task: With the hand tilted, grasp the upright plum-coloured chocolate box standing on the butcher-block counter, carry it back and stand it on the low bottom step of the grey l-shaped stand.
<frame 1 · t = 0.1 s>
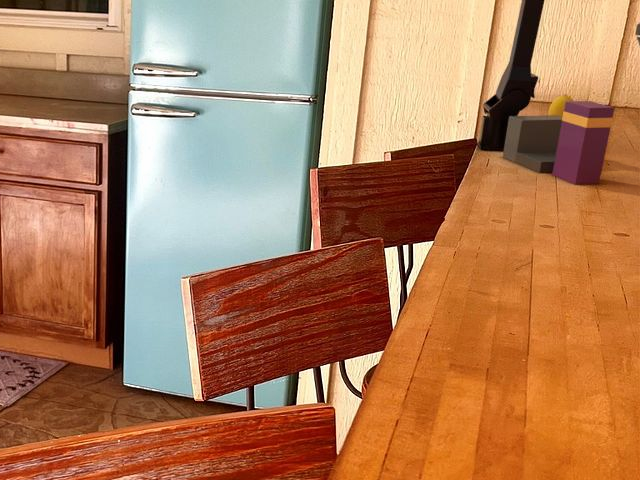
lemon: (558, 131, 204), on the breakfast bar
grey l-shaped stand: (544, 164, 170), on the breakfast bar
chocolate box: (575, 179, 158), on the breakfast bar
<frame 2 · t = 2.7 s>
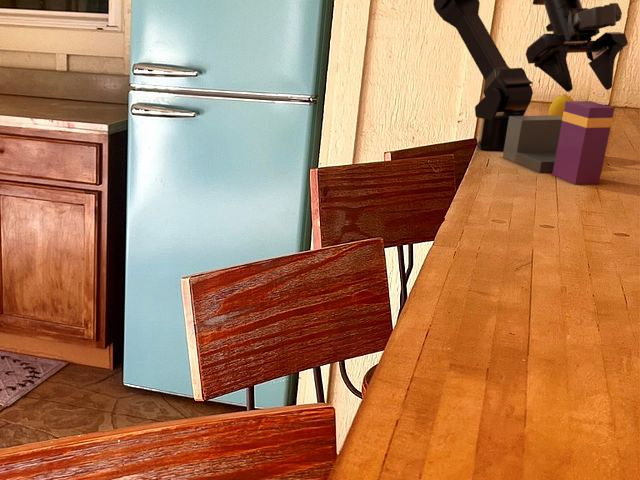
hand: (589, 89, 160), 14 cm above the breakfast bar, tool tilted 35°, fingers open, 9 cm apart
nothing on the breakfast bar moved.
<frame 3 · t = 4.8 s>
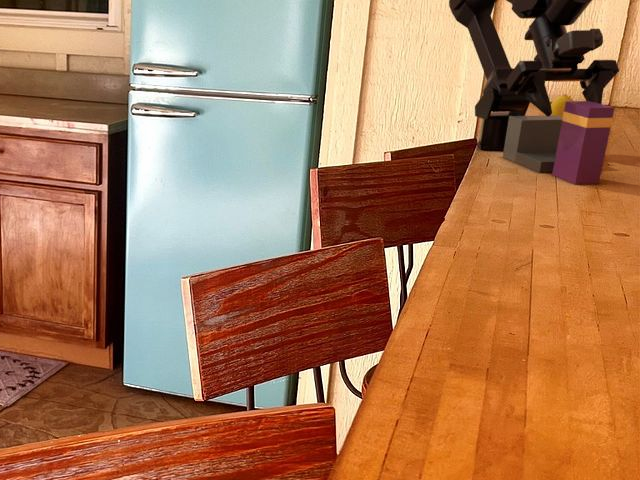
hand: (574, 114, 157), 11 cm above the breakfast bar, tool tilted 45°, fingers open, 9 cm apart
nothing on the breakfast bar moved.
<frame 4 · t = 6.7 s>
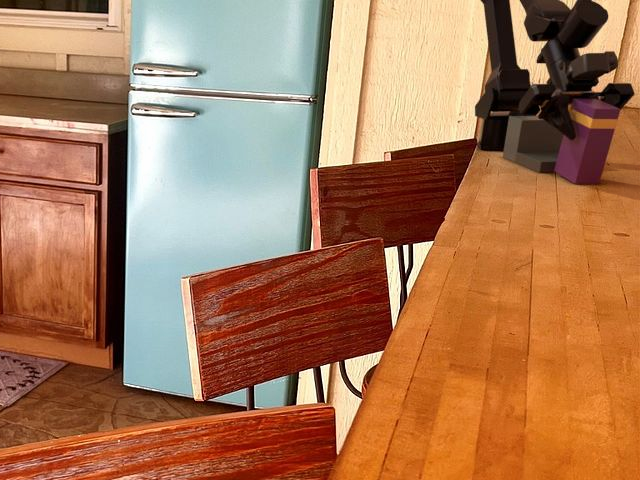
hand: (589, 138, 153), 8 cm above the breakfast bar, tool tilted 45°, fingers closed on chocolate box, 5 cm apart
chocolate box: (576, 177, 158), on the breakfast bar, tilted 5°, touching gripper
everything else where it was.
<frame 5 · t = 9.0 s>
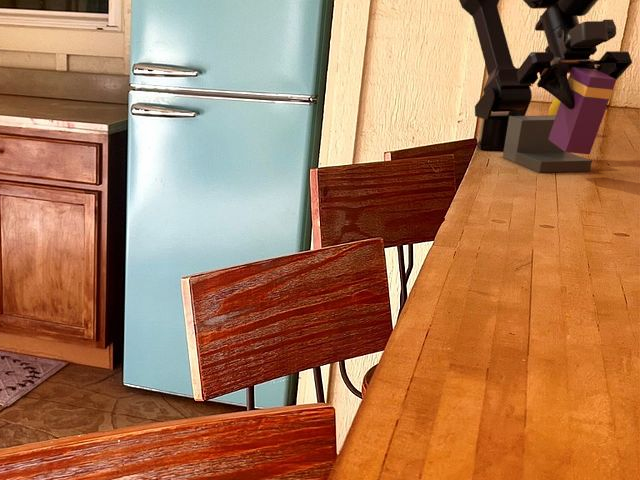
hand: (585, 107, 154), 12 cm above the breakfast bar, tool tilted 45°, fingers closed on chocolate box, 5 cm apart
chocolate box: (568, 146, 159), point 5 cm above the breakfast bar, tilted 8°, touching gripper
everything else where it was.
when the fingers open (10 cm above the breakfast bar, at t = 11.4 s): chocolate box stays where it is, resting on grey l-shaped stand.
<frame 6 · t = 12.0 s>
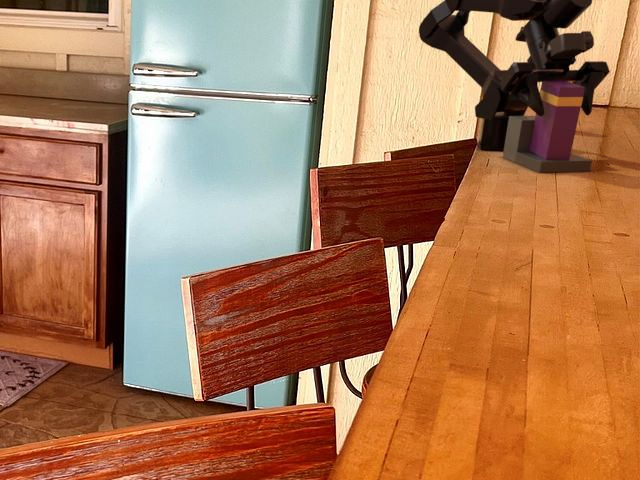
hand: (565, 114, 162), 10 cm above the breakfast bar, tool tilted 45°, fingers open, 9 cm apart
chocolate box: (548, 155, 167), point 2 cm above the breakfast bar, touching gripper, grey l-shaped stand
everything else where it was.
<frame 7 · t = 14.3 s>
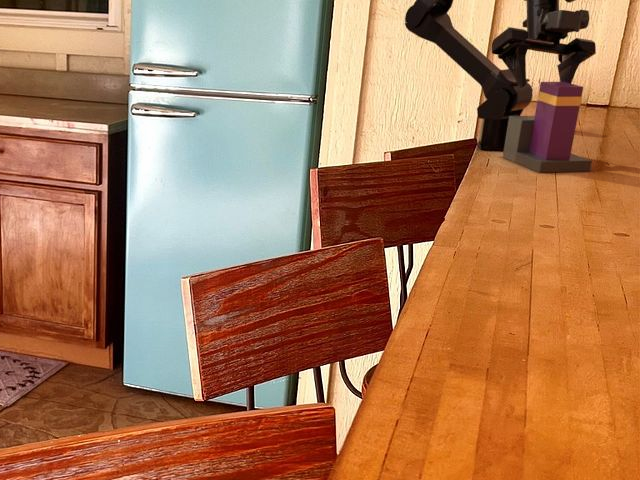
hand: (544, 89, 166), 13 cm above the breakfast bar, tool tilted 30°, fingers open, 9 cm apart
chocolate box: (548, 155, 167), point 2 cm above the breakfast bar, touching grey l-shaped stand
everything else where it was.
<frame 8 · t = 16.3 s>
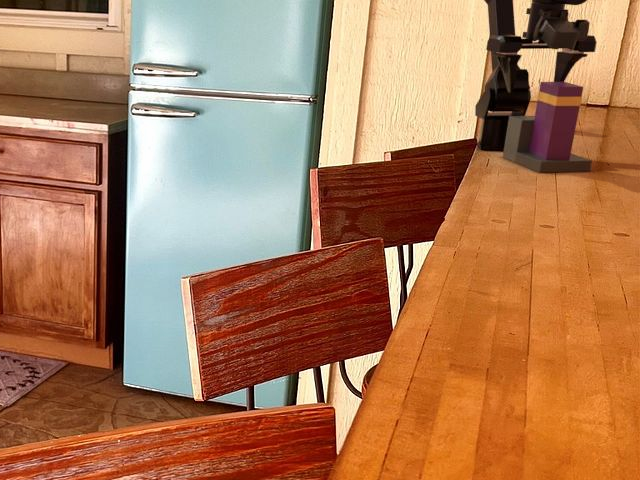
hand: (533, 92, 167), 13 cm above the breakfast bar, tool pointing down, fingers open, 9 cm apart
nothing on the breakfast bar moved.
at the end: chocolate box 1.1 cm from the target spot on the grey l-shaped stand, point 2.0 cm above the grey l-shaped stand's base; chocolate box tilted 0° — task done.
